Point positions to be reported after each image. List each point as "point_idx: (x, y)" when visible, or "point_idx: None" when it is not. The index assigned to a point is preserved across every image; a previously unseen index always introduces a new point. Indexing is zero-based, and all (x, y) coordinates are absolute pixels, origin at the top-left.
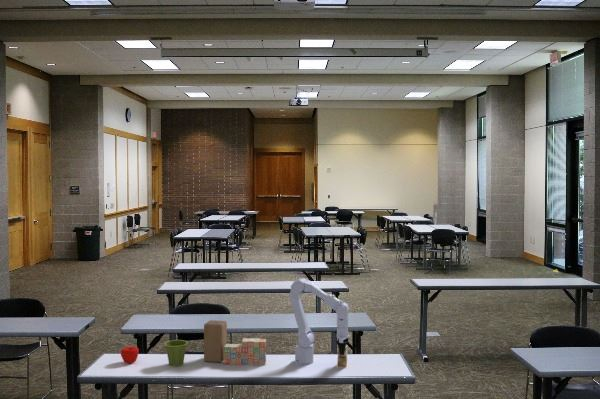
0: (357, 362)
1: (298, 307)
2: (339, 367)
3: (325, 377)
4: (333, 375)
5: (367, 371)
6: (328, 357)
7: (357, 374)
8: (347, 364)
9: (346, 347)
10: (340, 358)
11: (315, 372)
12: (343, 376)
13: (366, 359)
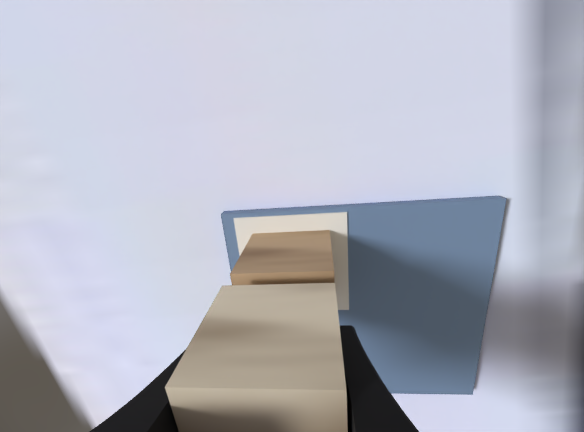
0: (130, 155)
1: None
2: (348, 280)
3: (576, 341)
4: (525, 296)
5: (378, 4)
6: (113, 365)
7: (491, 101)
8: (252, 230)
9: (340, 392)
10: None
11: (457, 404)
12: (555, 220)
13: (5, 83)
